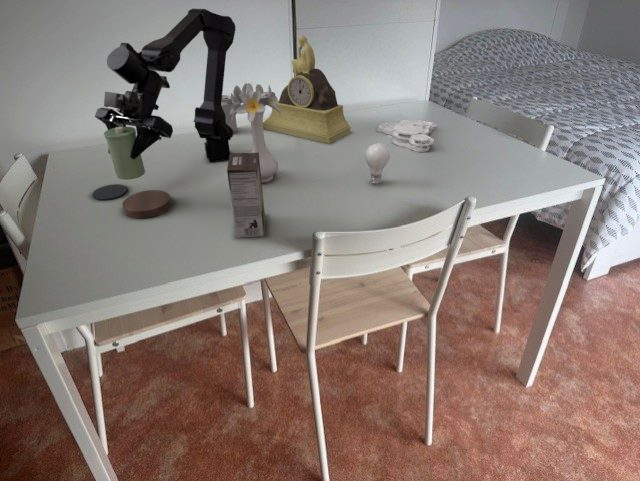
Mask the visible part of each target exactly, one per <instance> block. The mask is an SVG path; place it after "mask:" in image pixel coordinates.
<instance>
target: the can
mask: <svg viewBox="0 0 640 481" xmlns="http://www.w3.org/2000/svg"><path fill="white" fill-rule="evenodd" d="M229 99H231V95H228V94H222V102H221V106H222V108H223V110H224V113H225V115H226V124H227V125H228V126H230V127H231V128H232V129H233V134H235V133H236V132H237V130H238V125H237V124H238V123H237V117H236V116H237V114H236V115H235V117H234V119H233V121H232V122H231V120H232V115H233V114H231V115H230V108H231V107H232V106H233V105H234V104H227V101H228V100H229Z"/></svg>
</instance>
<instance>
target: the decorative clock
mask: <svg viewBox="0 0 640 481" xmlns="http://www.w3.org/2000/svg"><path fill="white" fill-rule="evenodd" d="M297 40H298V43H299V46H298V49H297V50H298V53H297V58H298V59H297V58H296V59H295V58H294V59H292V60H291V65H292V73H293V74H294V75H293V77H292V78H291V79H290V80H289V82H288V84H287V85H286V86H285V87H284V88H283V89H282V91H281V93H280V96H279V100H278V102H277V104H274V105H277V106H278V107H279V108H280V110H281V111H282V114H281V113H280V112H278V111H276V110H275V109H273V108H272V109H271V112H270V114H269V116H268V117H267V118H266V119H265V120H263V130H268V131H272V132H277V133H281V134H285V135H289V136H294V137H298V138H302V139H305V140H311V141H314V142H319V143H323V144H327V145H330V144H332V143H334V142H336V141H338V140H340V139H341V138H343V137H345V136H347V135H349V134H351V126H350V124H349V122H348V121H347V120H346V117H345V113H344V105H343V104H338V100H337V96H336V90H335V89H334V88H333V86H332V85H331V84H330V82H329V81H328V78H327V76H326V75H325V73H324V72H323V70H321V69H319V68H316V57H315V53H314V49H313V48H312V46H311V45H310V43H309V42H308V38H307V37H306V36H305V35H303V34H302V35H300V36H299V37H298V38H297Z"/></svg>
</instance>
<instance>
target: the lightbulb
mask: <svg viewBox="0 0 640 481" xmlns="http://www.w3.org/2000/svg"><path fill="white" fill-rule="evenodd" d="M390 159H391V153H390V150H389V148H388V146H386V145H385V144H384V143H379V142H377V143H372V144H371V145H369V146H368V147H367V148H366V151H365V153H364V160H365V162H366V165H367V166H368V167H369V171H370V182H371V183H372V184H374V185H379V184H380V183H382V175H383V172H384V169H385V167H386V166H387V164H389V161H390Z"/></svg>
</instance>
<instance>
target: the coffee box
mask: <svg viewBox="0 0 640 481" xmlns="http://www.w3.org/2000/svg"><path fill="white" fill-rule="evenodd" d="M227 161H228V162H227V166H226V167H227V168H226V173H227V180H228V186H229V195H230V202H231V210H232V218H233V226H234V231H235V232H234V233H235V238H237V239H238V238H239V239H241V238H257V237H265V229H266V227H265V226H266V212H265V211H266V210H265V204H264V192H263V183H262V181H261V171H260V161H259V152H258V153H251V152H230V155H229V159H228V160H227Z"/></svg>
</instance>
